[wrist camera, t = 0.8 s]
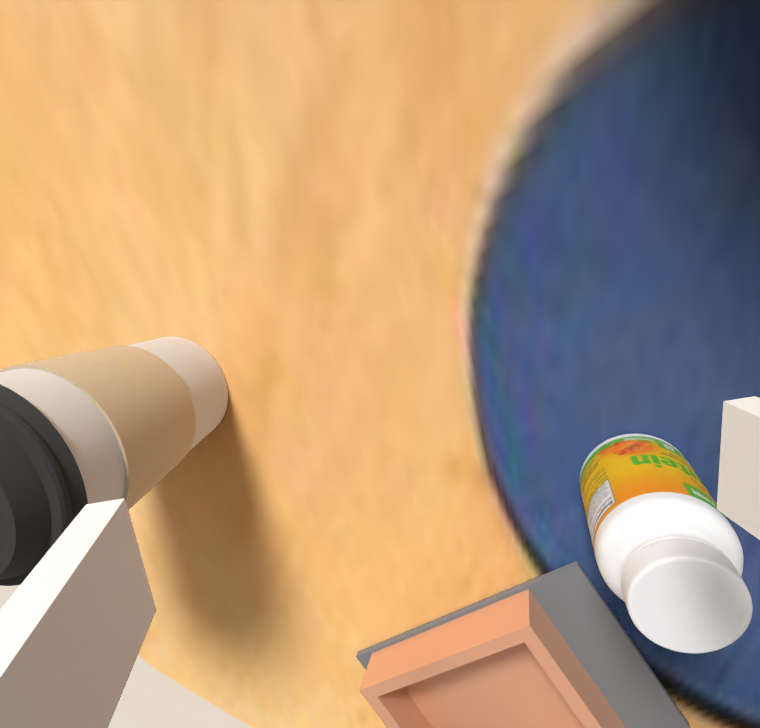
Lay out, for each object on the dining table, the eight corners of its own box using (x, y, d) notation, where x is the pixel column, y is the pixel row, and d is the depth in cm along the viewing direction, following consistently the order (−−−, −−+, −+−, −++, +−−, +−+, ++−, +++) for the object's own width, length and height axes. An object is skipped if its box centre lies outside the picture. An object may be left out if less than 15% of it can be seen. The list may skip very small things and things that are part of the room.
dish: (528, 588, 30) (529, 625, 28) (635, 742, 31) (646, 792, 28) (372, 653, 34) (359, 690, 32) (470, 786, 35) (466, 834, 32)
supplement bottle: (709, 452, 26) (810, 576, 17) (663, 538, 28) (733, 693, 19) (601, 416, 27) (643, 517, 18) (563, 502, 29) (583, 634, 20)
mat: (576, 560, 29) (577, 565, 29) (688, 723, 30) (691, 730, 30) (358, 651, 35) (356, 656, 35) (458, 787, 36) (457, 793, 36)
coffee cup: (267, 434, 32) (75, 600, 18) (155, 469, 35) (-84, 635, 21) (205, 297, 31) (-53, 363, 17) (94, 344, 34) (-205, 435, 20)
